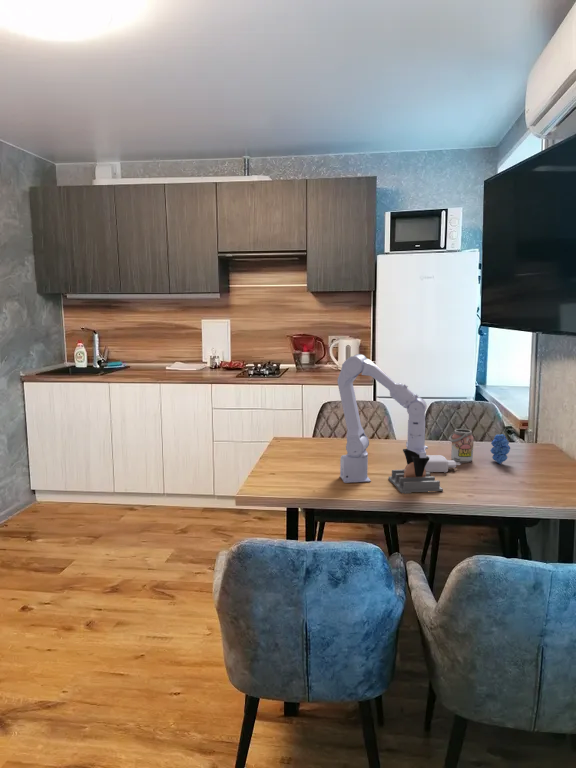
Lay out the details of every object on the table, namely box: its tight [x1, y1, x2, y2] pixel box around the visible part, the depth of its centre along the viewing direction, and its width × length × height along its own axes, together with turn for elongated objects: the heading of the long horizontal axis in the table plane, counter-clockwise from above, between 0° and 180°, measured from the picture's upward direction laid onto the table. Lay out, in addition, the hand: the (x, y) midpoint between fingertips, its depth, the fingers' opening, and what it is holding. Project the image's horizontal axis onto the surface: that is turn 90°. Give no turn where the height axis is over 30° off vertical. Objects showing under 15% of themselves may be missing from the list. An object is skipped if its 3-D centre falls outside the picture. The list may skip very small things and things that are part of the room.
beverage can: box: [448, 428, 475, 464], centre depth 217 cm, size 9×8×12 cm
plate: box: [404, 462, 427, 477], centre depth 188 cm, size 7×2×7 cm, turn 96°
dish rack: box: [388, 468, 444, 494], centre depth 188 cm, size 14×15×4 cm
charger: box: [425, 454, 462, 474], centre depth 206 cm, size 5×9×15 cm
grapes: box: [490, 433, 511, 465], centre depth 212 cm, size 12×7×12 cm, turn 6°
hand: (415, 472), depth 188 cm, fingers open, 7 cm apart
